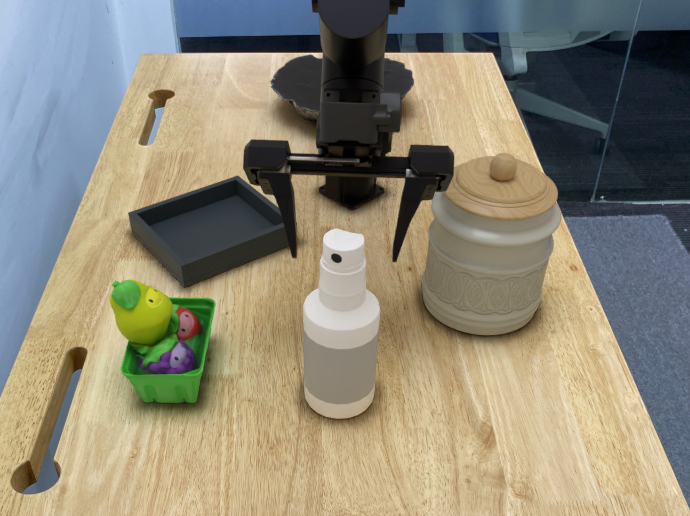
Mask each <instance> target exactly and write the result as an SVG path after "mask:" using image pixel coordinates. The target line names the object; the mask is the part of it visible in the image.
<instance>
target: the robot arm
mask: <svg viewBox="0 0 690 516" xmlns="http://www.w3.org/2000/svg"><path fill="white" fill-rule="evenodd" d="M405 4H406V0H311V10H312V13H313V14H314V13H315V14H318V24H319V34H320V35H319V36H320V47H321V49H322V57H321V58H322V79H321V100H320V112H319V115H318V117H317V121H316V129H315V130H316V133H315V137H316V138H315V147H316V149H317V153H304V152H303V153H301V152H292V151H291V146H290V143H289V140H286V139H284V140H283V139H250V140H249V141H248V142H247V143H246V144H245V146H244V148H243V161H242V162H243V163H242V170H243V171H244V173H245V176H246V177H247V180H248V182H249V185H251V186H255V187H260V190H261V191H262V194H263V195H266V196H273V197H274V199H275V202H276V204H277V207H279V209H280V212H281V216H282V220H283V224H284V228H285V232H286V236H287V240H288V244H289V246H288V248H289V251H290V255H291V258H292V259H297V257H298V248H299V241H298V240H299V239H298V224H297V225H296V222H297V211H296V198H295V188H294V185H293V182H292V179H293V175H294V176H319V177H320V176H323V177H324V178H325V179H324V183H325V184H322V185H320V186H319V187H318V192H319V193H320V194H322V195H324V196H325V197H328V198H329V199H331V200H333V201H335V202H336V203H338V204H340V205H341V206H344V207H345V208H348V209H350V210H354V209H356V208H358V207H361V206H362V205H364V204H366V203H367V202H368V203H369V202H370V201H372V200H373V199H376V198H377V197H379V196H381V195H383V194H385V192H386V189H385V188H384V187H383V186H381V185H379V184H377V178H380V179H382V178H384V179H404V184H403V189H402V191H401V197H400V203H399V209H398V214H397V218H396V219H397V220H396V225H395V231H394V235H393V236H394V238H393V242H392V252H391V253H392V254H391V262H392V263H397V261H398V259H399V255H400V253H401V250H402V247H403V244H404V241H405V238H406V236H407V233H408V230H409V228H410V225H411V223H412V221H413V219H414V217H415V215H416V213H417V211H418V209H419V208H420V205H421V204H422V202H424V201H432V199H433V197H434V195H435V193H436V192H444V191H447V189H448V187H449V185H450V182H451V180H452V178H453V176H454V167H455V152H454V151H453V150H452V148H451V147H450V146H449V145H441V144H440V145H434V144H410V145H409V149H408V154H407V156H393V155H391V156H390V155H388V154H389V153H392V146H393V145H392V143H393V133H399V132H400V131H401V123H402V102H403V101H402V100H403V99H402V93H394V92H383V80H384V58H386V56H385V55H386V43H387V38H388V28H389V16H390V15H393V16H398V14H399V8H405V7H406V5H405Z"/></svg>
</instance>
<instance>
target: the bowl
mask: <svg viewBox="0 0 690 516" xmlns="http://www.w3.org/2000/svg"><path fill="white" fill-rule="evenodd" d="M322 58H323V57H321V58H319V57H317V56H314V55H313V54H305V55H301V56H296V57H294V58H290V59H289V60H288V61H286V62H285V63H284V64H283V66H281V67H280V68H278V69H277V70H276V72H275V73H274V74H273V76H272V78H271V80H270V81H269V83H270V88H271V89H272V90H273V91H274V93H276V95H278V97H279V98H280V99H281V100H282V101H283V102H284V103H285V104H288V105H290V106H293V107H294V110H295V111H296V113H297V114H298V115H300V116H302V118H304V120H306V121H309V122H317V117H318V115H319V112H320V100H321V79H322ZM414 84H415V78H414V77H413V70H412V69H408V68H406V64H405V63H404V62H401V61H398V60H395V59H391V58H389V57H385V58H384V80H383V92H394V93H402V100H404V98H405V97H406V95H408V94H409V92H410V91H412V88H413V87H414V86H415V85H414Z"/></svg>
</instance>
